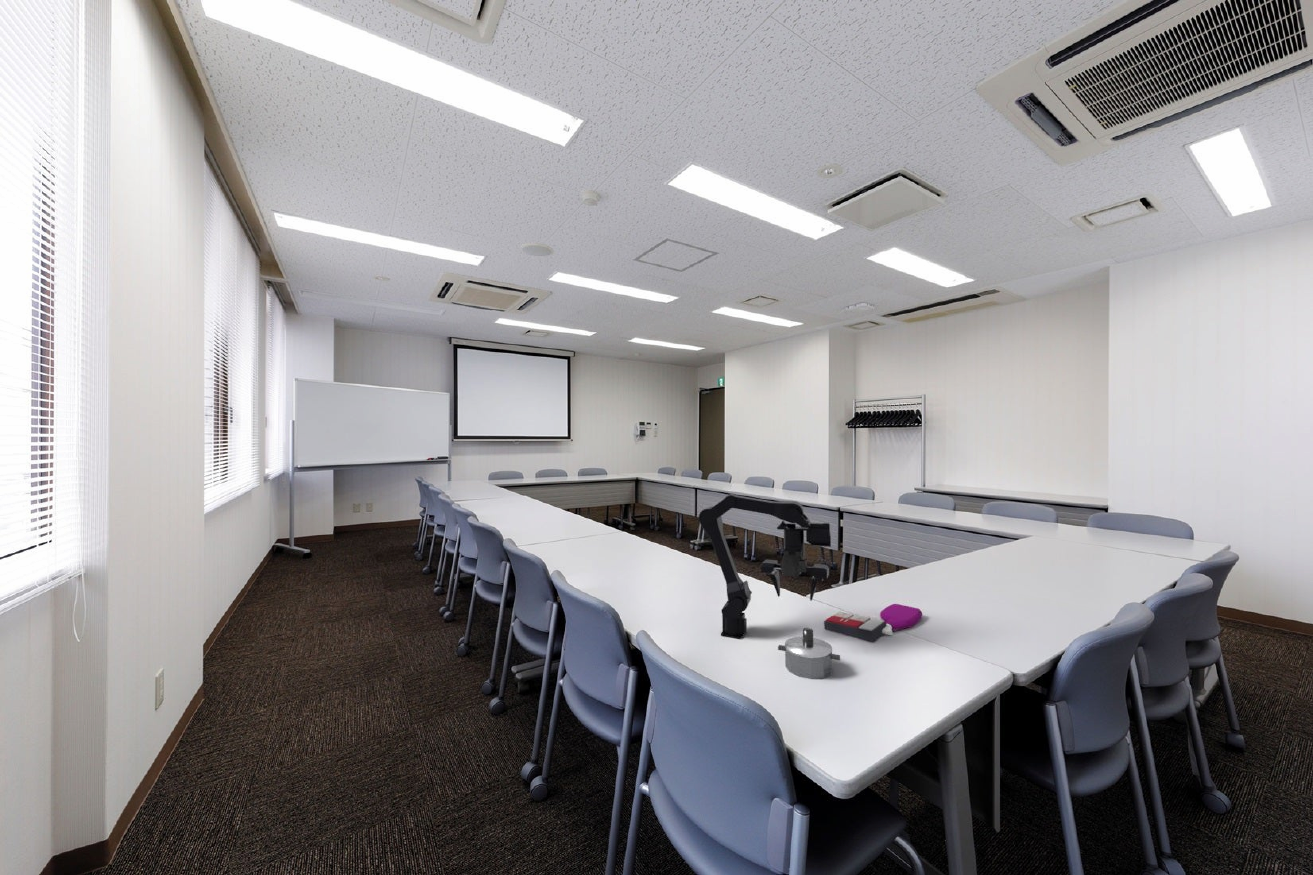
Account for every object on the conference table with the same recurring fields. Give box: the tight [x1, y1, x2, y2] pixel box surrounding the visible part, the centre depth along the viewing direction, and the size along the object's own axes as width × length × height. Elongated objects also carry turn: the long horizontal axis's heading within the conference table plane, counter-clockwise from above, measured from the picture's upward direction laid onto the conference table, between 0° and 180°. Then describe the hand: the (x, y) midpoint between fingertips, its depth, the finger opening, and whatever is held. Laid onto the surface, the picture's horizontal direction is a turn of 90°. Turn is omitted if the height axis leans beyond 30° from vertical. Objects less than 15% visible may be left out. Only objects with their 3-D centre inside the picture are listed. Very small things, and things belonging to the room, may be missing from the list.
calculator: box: [823, 611, 886, 644], centre depth 148 cm, size 11×4×15 cm
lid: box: [784, 627, 833, 659], centre depth 124 cm, size 12×12×6 cm
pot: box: [777, 644, 841, 680], centre depth 124 cm, size 15×11×5 cm
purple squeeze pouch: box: [879, 603, 923, 636], centre depth 153 cm, size 3×11×24 cm
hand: (794, 598), depth 141 cm, fingers open, 9 cm apart
